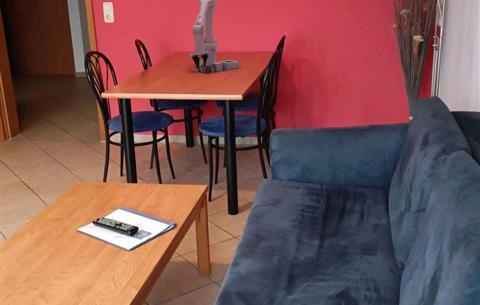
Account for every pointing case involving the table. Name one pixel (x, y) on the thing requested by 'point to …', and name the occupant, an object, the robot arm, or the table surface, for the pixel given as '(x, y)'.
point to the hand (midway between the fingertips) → (200, 67)
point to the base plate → (212, 71)
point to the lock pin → (209, 68)
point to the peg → (201, 64)
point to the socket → (230, 64)
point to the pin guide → (217, 66)
